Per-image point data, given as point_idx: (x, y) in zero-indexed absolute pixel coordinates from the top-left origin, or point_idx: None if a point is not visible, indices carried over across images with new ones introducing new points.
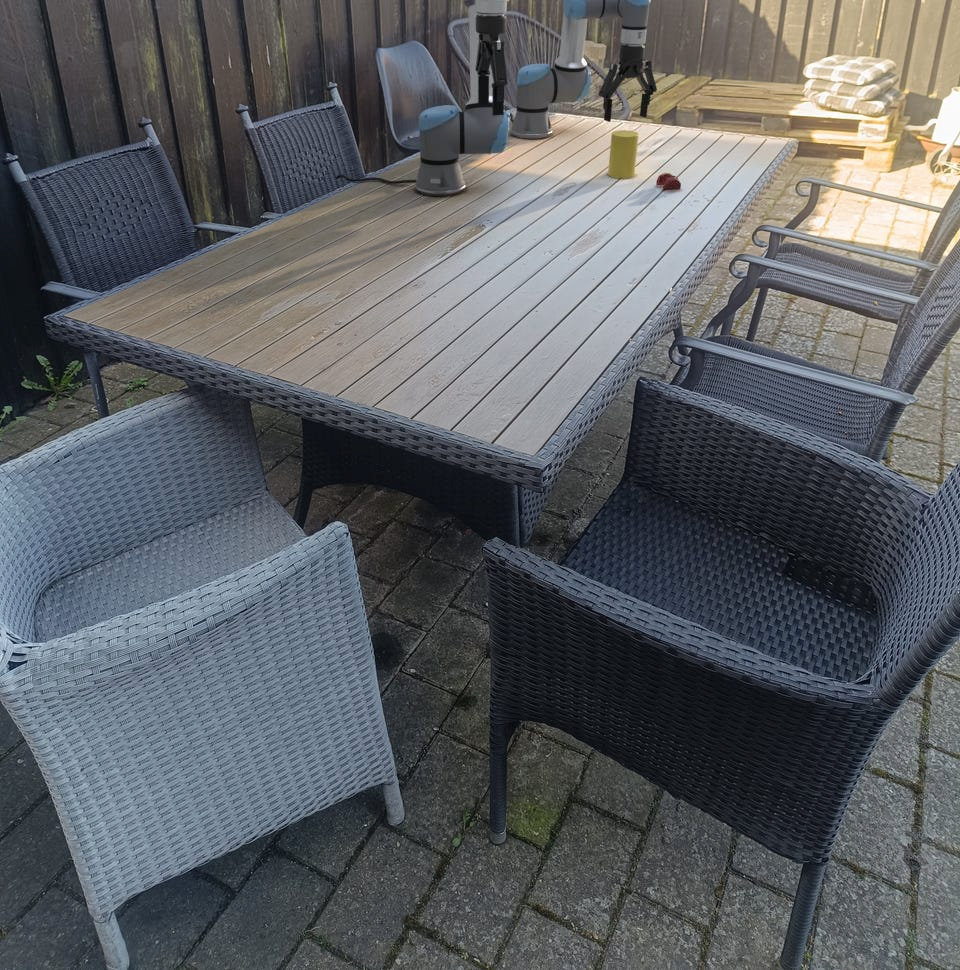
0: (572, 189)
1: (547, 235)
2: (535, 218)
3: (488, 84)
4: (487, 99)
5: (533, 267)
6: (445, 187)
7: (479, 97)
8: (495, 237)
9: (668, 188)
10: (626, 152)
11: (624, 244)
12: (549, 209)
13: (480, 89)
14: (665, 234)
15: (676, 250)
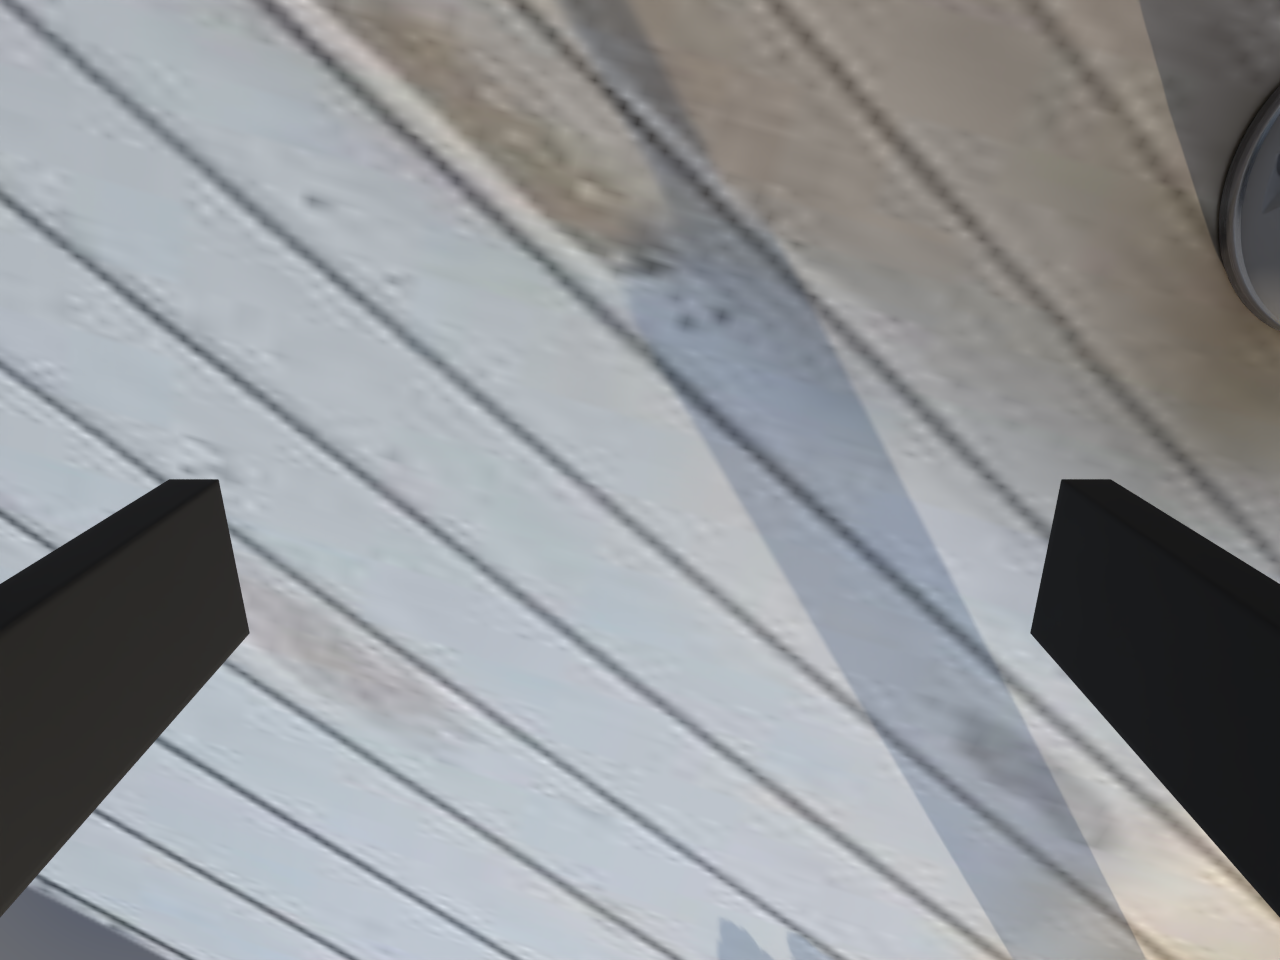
0: (1023, 812)
1: (440, 527)
2: (685, 547)
3: (1225, 845)
4: (1067, 646)
5: (26, 339)
6: (1266, 184)
7: (1121, 531)
8: (458, 280)
9: None
10: None
11: (283, 767)
12: (790, 642)
13: (1209, 622)
14: (372, 922)
15: (200, 895)
